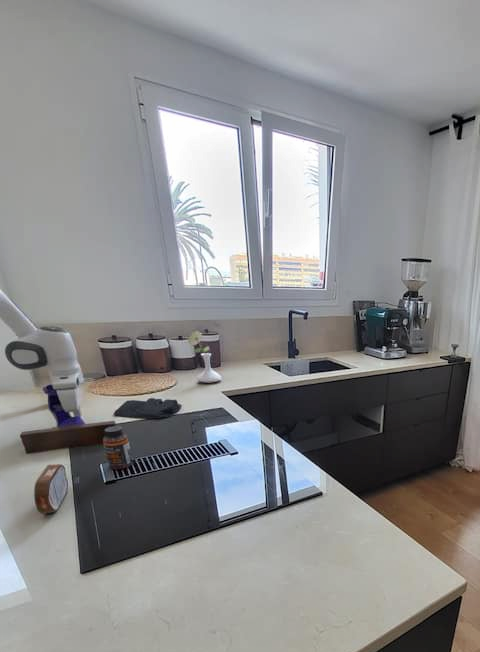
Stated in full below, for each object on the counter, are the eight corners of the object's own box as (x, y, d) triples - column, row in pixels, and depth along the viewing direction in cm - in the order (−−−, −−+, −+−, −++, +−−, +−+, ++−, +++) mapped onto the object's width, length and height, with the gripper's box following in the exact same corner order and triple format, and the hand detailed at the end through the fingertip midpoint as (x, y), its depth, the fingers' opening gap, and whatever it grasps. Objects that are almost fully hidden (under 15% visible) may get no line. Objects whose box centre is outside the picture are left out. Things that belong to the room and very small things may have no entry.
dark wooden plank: (26, 453, 117) (19, 435, 114) (28, 450, 119) (21, 431, 117) (118, 440, 127) (114, 423, 125) (119, 437, 130) (114, 420, 127)
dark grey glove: (135, 404, 162) (133, 392, 160) (186, 407, 160) (184, 396, 158) (109, 416, 148) (106, 404, 146) (164, 419, 146) (162, 407, 144)
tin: (58, 489, 99) (48, 458, 96) (73, 486, 100) (64, 457, 97) (39, 521, 86) (27, 488, 83) (56, 518, 87) (45, 485, 84)
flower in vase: (215, 377, 204) (209, 328, 194) (225, 382, 197) (219, 330, 187) (190, 381, 196) (182, 330, 186) (199, 386, 189) (192, 332, 178)
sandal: (63, 442, 125) (49, 397, 118) (52, 425, 138) (39, 384, 131) (93, 436, 130) (81, 392, 124) (80, 420, 143) (68, 380, 137)
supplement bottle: (105, 470, 108) (95, 433, 104) (114, 461, 114) (105, 425, 109) (129, 469, 109) (120, 432, 105) (136, 460, 115) (128, 424, 110)
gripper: (59, 371, 137) (70, 409, 143) (51, 385, 121) (63, 427, 127) (81, 370, 140) (91, 406, 146) (75, 383, 124) (87, 424, 130)
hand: (78, 416), depth 136 cm, fingers closed
